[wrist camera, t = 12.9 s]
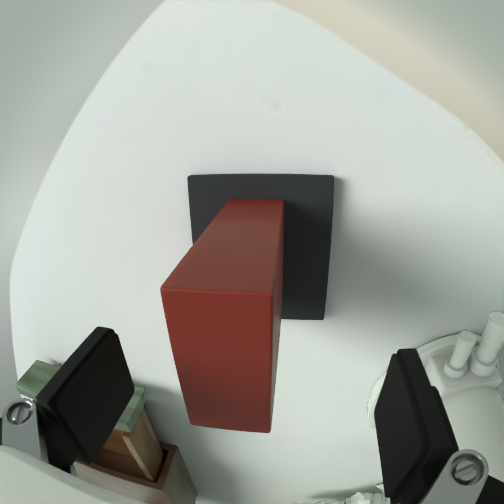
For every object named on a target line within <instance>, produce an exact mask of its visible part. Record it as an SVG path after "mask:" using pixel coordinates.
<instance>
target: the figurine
mask: <svg viewBox="0 0 504 504" xmlns="http://www.w3.org/2000/svg"><path fill="white" fill-rule="evenodd" d="M374 486H376V487H378V488H379V489H380V490H381V491H383V496H384V498H385V499H386V500H385V501H384V500H382V495H381V494H377V493H375V494H372V493H369V492H366V493H362V492H357V493H356V494H355V495H353V496H351V498H346V501H345V503H344V504H390V498H386V497H385V494H384V485H383V484H378V485H374ZM294 504H299V503H296V502H295V503H294ZM300 504H343V502H340V500H339V499H336V501H334V502H328V501H319V502H317V503H310V502H308V503H300Z"/></svg>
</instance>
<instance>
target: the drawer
mask: <svg viewBox="0 0 504 504" xmlns="http://www.w3.org/2000/svg"><path fill="white" fill-rule="evenodd" d="M60 368H61V367H58V366H55V365H52V364H48V363H45V362H42V361H39V360H36V361H35V362H34V364H33V365H32V366H31V367H30V368H29V369H28V370H27V372H26V373H25V374H24V375H23V376H22V377H21V379H20V380H19V381H18V382H17V383H16V385H15V386H16V387H17V389H18V391H19V392H20V394H23V395H25V396H27V397H29V398H32V399H34V400H33V402H34V404H36V403H37V400H36V398H35V397H36V396H37V395H38V393H39V392H40V391H41V390H42V389H43V387H44V386H45V385H46V384H47V383H48V381H49V380H50V379H51V378H52V377H53V376H54V374H55V373H56V372H57V371H58V370H59V369H60ZM134 388H135V390H134V394H133V396H132V398H131V400H130V401H129V403H128V405H127V407H126V408H125V410H124V412H123V413H122V415H121V417H120V419H119V420H118V422H117V424H116V426H115V427H114V429H113V431H112V432H111V434H110V436H109V438H108V439H107V441H106V443H105V445H104V447H103V448H102V450H101V452H100V454H99V455H98V457H97V458H96V459H95V460H92V463H94V464H97V465H100V466H103V467H105V468H108V469H111V470H114V471H117V472H120V473H124V474H127V475H130V476H133V477H137V478H140V479H144V480H148V481H152V482H155V483H157V482H158V479H159V476H160V473H161V471H162V468H163V465H164V462H165V460H166V457H165V455H164V453H163V451H162V449H161V446H160V444H159V442H158V440H157V438H156V435H155V433H154V431H153V428H152V426H151V424H150V421H149V419H148V416H147V414H146V411H145V409H144V405H145V403H146V401H147V399H148V394H147V391H146V388H143V387H138V386H134Z"/></svg>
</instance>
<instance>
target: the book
mask: <svg viewBox="0 0 504 504" xmlns="http://www.w3.org/2000/svg"><path fill="white" fill-rule="evenodd" d="M283 257H284V200H269V199H230V200H229V201H228V202H227V203H226V204H225V206H224V207H223V208H222V209H221V211H220V212H219V213H218V214H217V216H216V217H215V218H214V219H213V220H212V222H211V223H210V224H209V225H208V227H207V228H206V229H205V230H204V232H203V233H202V234H201V236H200V237H199V238H198V239H197V241H196V242H195V243H194V244H193V246H192V247H191V248H190V250H189V251H188V252H187V253H186V255H185V256H184V257H183V259H182V260H181V261H180V262H179V264H178V265H177V266H176V268H175V269H174V270H173V271H172V273H171V274H170V275H169V277H168V278H167V279H166V281H165V282H164V283H163V285H162V286H161V288H160V291H161V297H162V302H163V308H164V313H165V318H166V323H167V328H168V333H169V338H170V343H171V347H172V352H173V356H174V361H175V365H176V369H177V374H178V378H179V382H180V386H181V390H182V394H183V398H184V402H185V405H186V409H187V413H188V417H189V420H190V424H192V425H196V426H203V427H211V428H218V429H227V430H237V431H247V432H260V433H270V431H271V423H272V414H273V404H274V394H275V383H276V372H277V361H278V349H279V337H280V325H281V312H282V298H283Z"/></svg>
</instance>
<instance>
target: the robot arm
mask: <svg viewBox="0 0 504 504" xmlns="http://www.w3.org/2000/svg"><path fill="white" fill-rule="evenodd" d="M503 344H504V313H501V312H492V313H490V316H489V318H488V321H487V324H486V326H485V329H484V332H483V334H482V336H478V335H475V334H474V333H473V332H470V331H466V330H464V331H461V332H460V334H456V335H450V336H446V337H443V338H439V339H436V340H434V341H432V342H429V343H427V344H425V345H422V346H421V347H419V348H417V349H415V348H414V349H399V350H398V351H397V354H393V355H392V357H391V360H390V363H389V367H388V370H387V371H386V372H385V373H384V375H383V376H382V377H381V378H380V379H379V381H378V382H377V383H376V385H375V387H374V388H373V390H372V392H371V394H370V397H369V400H368V404H367V412H368V418H369V422H370V424H371V427H372V428H373V429H374V430H375V431H376V432H377V439H378V446H379V453H380V460H381V468H382V477H383V485H384V494H385V497H386V498H390V504H504V402H503V400H502V398H501V396H500V394H499V392H498V390H497V389H498V387H499V386H500V384H501V382H502V380H503V379H502V377H501V375H500V374H499V368H500V362H499V356H498V352H499V350H500V348H501V347H502V345H503ZM134 390H135V388H134V384H133V381H132V378H131V375H130V372H129V369H128V366H127V363H126V360H125V357H124V353H123V350H122V347H121V344H120V340H119V337H118V335H117V334H116V333H115V332H114V330H113V329H110V328H105V327H97V328H95V329H94V331H93V332H92V333H91V334H90V335H89V336H88V337H87V338H86V339H85V340H84V342H83V343H82V344H81V345H80V346H79V347H78V348H77V349H76V350H75V352H74V353H73V354H72V355H71V356H70V357H69V358H68V360H67V361H66V362H65V363H64V364H63V365H62V366H61V368H60V369H59V370H58V371H57V372H56V373H55V374H54V376H53V377H52V378H51V379H50V380H49V381H48V383H47V384H46V385H45V386H44V387H43V389H42V390H41V391H40V392H39V393H38V395H37V396H36V397H35V398H36V400H37V403H36V404H34V402H33V401H31V400H30V399H26V398H19V399H16V400H14V401H12V402H10V403H9V404H8V405H7V406H6V408H5V410H4V411H3V417H2V418H0V504H147V503H143V502H140V501H137V500H134V499H131V498H128V497H125V496H122V495H119V494H117V493H114V492H111V491H109V490H106V489H103V488H101V487H98V486H96V485H94V484H91V483H89V482H87V481H84V480H82V479H80V478H77V475H76V471H75V467H74V462H75V460H76V459H77V460H78V461H80V462H82V463H84V464H87V465H90V463H91V462H92V460H95V459H96V458H97V457H98V455H99V454H100V452H101V450H102V448H103V447H104V445H105V443H106V441H107V439H108V438H109V436H110V434H111V432H112V431H113V429H114V427H115V426H116V424H117V422H118V420H119V419H120V417H121V415H122V413H123V412H124V410H125V408H126V407H127V405H128V403H129V401H130V400H131V398H132V396H133V394H134Z"/></svg>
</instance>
